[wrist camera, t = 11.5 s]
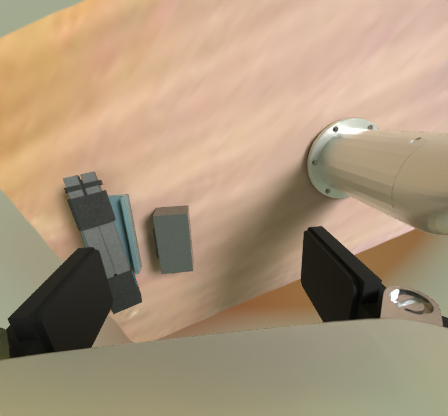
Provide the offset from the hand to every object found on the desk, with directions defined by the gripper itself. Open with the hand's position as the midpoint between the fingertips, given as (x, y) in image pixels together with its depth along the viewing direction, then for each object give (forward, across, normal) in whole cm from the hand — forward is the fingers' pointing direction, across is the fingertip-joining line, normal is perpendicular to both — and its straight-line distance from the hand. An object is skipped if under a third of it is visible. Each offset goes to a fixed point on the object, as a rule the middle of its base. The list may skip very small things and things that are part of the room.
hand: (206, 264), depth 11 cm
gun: (+25, +16, +10) cm, 32 cm away
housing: (+26, +6, +11) cm, 29 cm away
